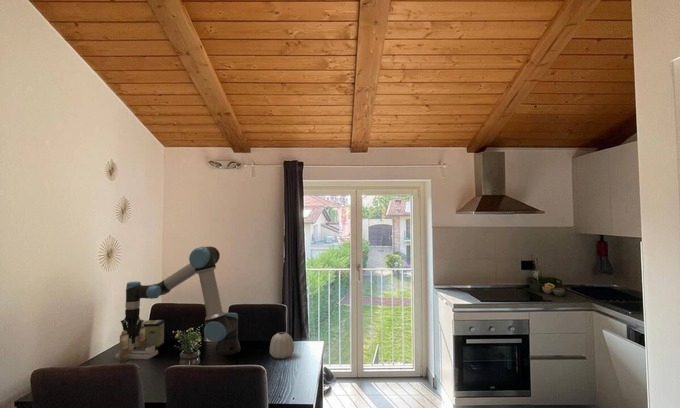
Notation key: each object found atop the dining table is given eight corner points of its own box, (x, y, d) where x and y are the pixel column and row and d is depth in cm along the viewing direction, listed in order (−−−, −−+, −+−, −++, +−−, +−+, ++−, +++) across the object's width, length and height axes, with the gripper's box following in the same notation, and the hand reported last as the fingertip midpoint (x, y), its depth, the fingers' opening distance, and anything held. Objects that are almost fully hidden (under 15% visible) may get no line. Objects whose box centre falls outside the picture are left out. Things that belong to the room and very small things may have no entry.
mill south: (146, 350, 236) (146, 323, 238) (141, 352, 232) (142, 324, 233) (139, 350, 237) (140, 323, 238) (134, 352, 232) (135, 324, 234)
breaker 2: (154, 351, 228) (155, 344, 228) (150, 353, 223) (150, 346, 223) (150, 350, 228) (150, 344, 228) (145, 353, 223) (145, 346, 223)
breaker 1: (132, 350, 229) (132, 343, 229) (127, 353, 224) (127, 346, 224) (127, 350, 229) (127, 343, 230) (122, 352, 224) (122, 346, 225)
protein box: (138, 345, 249) (139, 320, 250) (164, 344, 250) (164, 319, 252) (132, 349, 238) (132, 324, 239) (158, 348, 240) (159, 323, 241)
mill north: (129, 359, 220) (130, 329, 222) (124, 361, 216) (125, 331, 217) (122, 358, 221) (123, 329, 222) (117, 361, 216) (118, 331, 218)
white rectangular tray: (158, 353, 230) (158, 349, 230) (148, 359, 220) (148, 354, 220) (126, 352, 232) (126, 348, 232) (115, 358, 222) (115, 353, 222)
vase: (281, 351, 233) (281, 329, 234) (298, 355, 225) (298, 332, 226) (264, 357, 222) (264, 333, 223) (281, 362, 214) (282, 337, 215)
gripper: (146, 307, 232) (145, 347, 230) (126, 306, 233) (124, 347, 231) (139, 309, 224) (137, 351, 222) (118, 309, 225) (116, 350, 224)
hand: (131, 349), depth 227 cm, fingers closed
